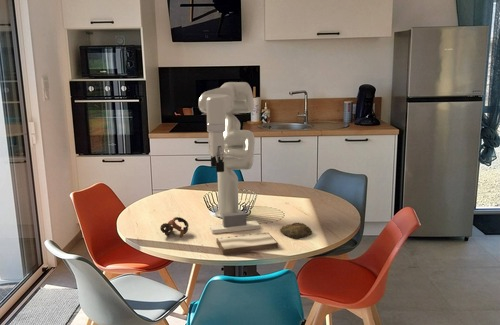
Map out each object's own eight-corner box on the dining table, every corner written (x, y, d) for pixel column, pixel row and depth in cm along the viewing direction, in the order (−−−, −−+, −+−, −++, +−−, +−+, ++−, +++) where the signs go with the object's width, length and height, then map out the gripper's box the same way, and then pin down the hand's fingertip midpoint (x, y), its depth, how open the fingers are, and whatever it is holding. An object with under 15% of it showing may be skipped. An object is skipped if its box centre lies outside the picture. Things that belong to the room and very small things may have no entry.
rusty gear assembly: (176, 229, 208) (184, 215, 205) (186, 244, 202) (194, 229, 199) (153, 229, 199) (161, 214, 196) (162, 245, 193) (170, 229, 190)
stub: (209, 228, 206) (209, 214, 205) (255, 223, 212) (255, 209, 210) (212, 233, 201) (211, 218, 199) (259, 228, 206) (259, 214, 205)
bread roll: (292, 241, 193) (292, 229, 192) (276, 231, 203) (276, 220, 202) (317, 235, 199) (318, 224, 198) (301, 226, 209) (301, 215, 208)
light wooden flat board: (216, 243, 191) (216, 237, 190) (268, 237, 196) (268, 231, 196) (223, 254, 179) (223, 249, 179) (278, 248, 185) (278, 242, 185)
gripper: (203, 125, 197) (204, 165, 201) (211, 131, 181) (212, 174, 184) (220, 124, 199) (221, 164, 203) (230, 130, 183) (231, 173, 187)
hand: (217, 169), depth 194 cm, fingers open, 9 cm apart
